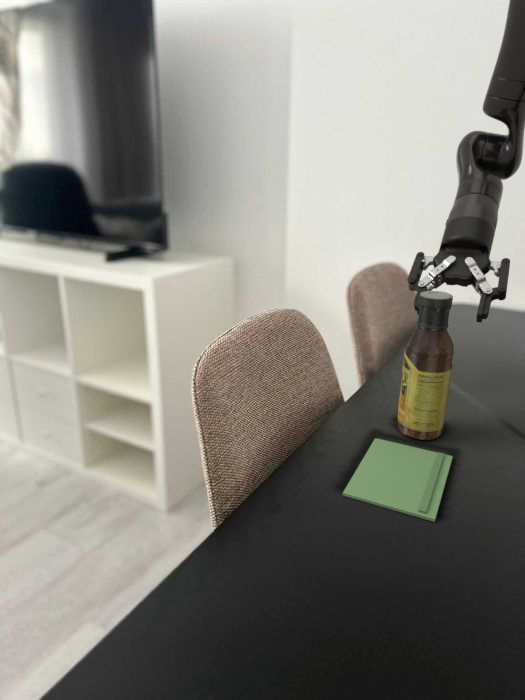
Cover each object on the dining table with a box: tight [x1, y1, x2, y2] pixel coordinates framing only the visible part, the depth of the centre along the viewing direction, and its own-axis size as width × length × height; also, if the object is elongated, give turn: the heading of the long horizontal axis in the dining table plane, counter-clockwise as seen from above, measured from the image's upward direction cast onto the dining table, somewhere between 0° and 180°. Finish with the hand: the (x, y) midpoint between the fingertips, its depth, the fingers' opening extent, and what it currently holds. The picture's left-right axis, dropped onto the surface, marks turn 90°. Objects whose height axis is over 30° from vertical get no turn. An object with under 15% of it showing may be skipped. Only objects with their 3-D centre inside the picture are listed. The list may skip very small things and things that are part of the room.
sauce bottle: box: [397, 290, 455, 441], centre depth 68 cm, size 6×6×20 cm
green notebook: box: [342, 437, 454, 523], centre depth 61 cm, size 14×10×1 cm
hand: (448, 315), depth 76 cm, fingers open, 8 cm apart
